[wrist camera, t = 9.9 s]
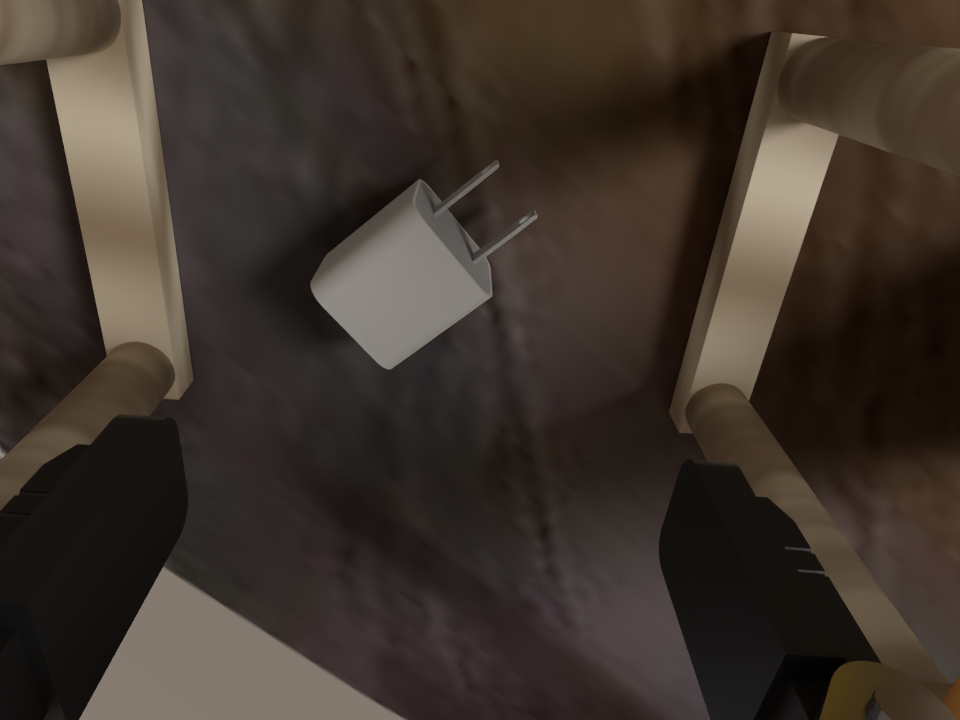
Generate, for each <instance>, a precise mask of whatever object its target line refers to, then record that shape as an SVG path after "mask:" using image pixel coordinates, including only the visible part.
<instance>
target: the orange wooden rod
mask: <svg viewBox="0 0 960 720" xmlns="http://www.w3.org/2000/svg"><path fill="white" fill-rule="evenodd" d="M942 702H943V703H944V704H945V705H946V706H947V708H948V709H949V710H950V711H951V713H952V714H953V715H954V716H955V718H956V720H960V675H959V677H958V678H957V680H956V681H955V683H954V684H953V686H952V687H951V689H950V690H949V692H948V693H947V695H946V696H945V698H944V699H943V701H942Z"/></svg>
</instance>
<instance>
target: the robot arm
mask: <svg viewBox="0 0 960 720" xmlns="http://www.w3.org/2000/svg"><path fill="white" fill-rule="evenodd" d="M187 508H188V492H187V486H186V479H185V472H184V465H183V458H182V452H181V445H180V438H179V431H178V427H177V424H176V422H175V421H174V419H172V418H168V417H155V416H142V415H129V414H119V415H117V416H115V417H114V418H113V419H112V420H111V421H110V422H109V424H108V425H107V426H106V427H105V428H104V429H103V431H102V432H101V433H100V434H99V435H98V436H97V438H96V439H95V440H94V441H93V442H92V443H91V444H90V445H85V444H77V445H75V446H73V447H72V448H70V449H68V450H67V451H65V452H63V453H62V454H60V455H58V456H57V457H55V458H53V459H52V460H50V461H48V462H46V463H45V464H43V465H42V466H41V467H40V468H39V470H38V471H37V472H36V473H35V474H34V475H33V476H32V477H31V478H30V479H29V480H28V481H27V482H26V484H25V485H24V486H23V487H22V488H21V489H20V493H19V495H14V496H13V498H12V499H11V500H10V501H9V502H8V503H7V504H6V505H5V506H4V507H3V508H2V509H1V510H0V720H79V718H80V717H81V715H82V713H83V711H84V709H85V707H86V706H87V704H88V702H89V700H90V698H91V697H92V695H93V693H94V691H95V689H96V688H97V686H98V684H99V682H100V680H101V678H102V677H103V675H104V673H105V671H106V669H107V668H108V665H109V664H110V662H111V660H112V658H113V657H114V655H115V653H116V651H117V649H118V648H119V646H120V644H121V642H122V640H123V638H124V637H125V635H126V633H127V631H128V629H129V628H130V626H131V624H132V622H133V620H134V618H135V617H136V615H137V613H138V611H139V609H140V608H141V606H142V604H143V602H144V600H145V598H146V597H147V595H148V593H149V591H150V589H151V588H152V586H153V584H154V582H155V580H156V578H157V577H158V575H159V573H160V571H161V569H162V568H163V566H164V564H165V562H166V560H167V558H168V557H169V555H170V553H171V551H172V549H173V548H174V546H175V544H176V542H177V540H178V538H179V537H180V534H181V532H182V530H183V527H184V524H185V520H186V515H187ZM659 557H660V565H661V569H662V573H663V576H664V579H665V582H666V585H667V588H668V591H669V594H670V597H671V600H672V603H673V606H674V609H675V612H676V615H677V619H678V622H679V625H680V628H681V631H682V634H683V637H684V640H685V643H686V646H687V649H688V652H689V655H690V658H691V661H692V664H693V667H694V671H695V674H696V677H697V680H698V683H699V686H700V689H701V692H702V695H703V698H704V701H705V704H706V707H707V710H708V713H709V716H710V719H711V720H956V718H955V716H954V715H953V714H952V713H951V711H950V710H949V709H948V708H947V706H946V705H945V704H944V703H943V702H942V701H941V700H940V699H939V698H938V697H937V696H936V695H935V694H934V693H932V692H931V691H930V690H929V689H928V688H927V687H925V686H924V685H922V684H921V683H920V682H918V681H917V680H915V679H914V678H912V677H910V676H909V675H907V674H905V673H903V672H901V671H899V670H897V669H895V668H892V667H889V666H887V665H884V664H882V663H881V661H880V660H879V658H878V657H877V655H876V653H875V652H874V650H873V648H872V647H871V645H870V644H869V642H868V640H867V639H866V637H865V635H864V634H863V632H862V630H861V629H860V627H859V626H858V624H857V622H856V621H855V619H854V617H853V616H852V614H851V612H850V611H849V609H848V608H847V606H846V604H845V603H844V601H843V599H842V598H841V596H840V595H839V593H838V591H837V590H836V588H835V586H834V585H833V583H832V581H831V580H830V578H829V577H828V576H825V574H824V572H825V570H824V568H823V567H822V565H821V563H820V562H819V560H818V559H817V557H816V555H815V554H814V553H811V547H810V546H809V544H808V542H807V541H806V539H805V537H804V536H803V534H802V532H801V531H800V529H799V528H798V526H797V524H796V523H795V521H794V520H793V519H792V518H790V517H789V516H788V515H787V514H786V513H785V512H784V511H783V510H781V509H780V508H779V507H778V506H777V505H776V504H775V503H774V502H772V501H771V500H770V499H769V498H768V497H756V495H755V494H754V492H753V490H752V488H751V487H750V485H749V483H748V481H747V479H746V478H745V476H744V474H743V472H742V471H741V469H740V468H739V466H738V465H737V464H735V463H727V462H715V461H702V460H686V461H685V462H684V463H683V464H682V466H681V469H680V471H679V474H678V478H677V481H676V484H675V487H674V491H673V494H672V497H671V500H670V503H669V507H668V510H667V513H666V516H665V520H664V523H663V526H662V529H661V534H660V541H659Z"/></svg>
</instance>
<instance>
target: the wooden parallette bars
mask: <svg viewBox="0 0 960 720" xmlns="http://www.w3.org/2000/svg"><path fill="white" fill-rule="evenodd" d="M39 60H46V61H47V66H48V71H49V76H50V81H51V86H52V90H53V95H54V100H55V105H56V110H57V115H58V120H59V125H60V130H61V134H62V139H63V144H64V149H65V154H66V159H67V164H68V169H69V174H70V178H71V183H72V188H73V193H74V198H75V203H76V208H77V213H78V217H79V222H80V227H81V232H82V237H83V242H84V247H85V252H86V257H87V261H88V266H89V271H90V276H91V281H92V286H93V291H94V296H95V301H96V305H97V310H98V315H99V320H100V325H101V330H102V335H103V340H104V344H105V349H106V354H107V357H106V358H105V359H104V360H103V361H102V362H101V363H100V364H99V365H98V366H97V367H96V368H95V369H94V370H93V371H92V372H90V373H89V374H88V375H87V376H86V377H85V378H84V379H83V380H82V381H81V382H80V383H79V384H78V385H77V386H76V387H75V388H74V389H73V390H72V391H71V392H70V393H69V394H68V395H67V396H66V397H65V398H64V399H63V400H62V401H61V402H60V403H59V404H58V405H57V406H56V407H55V408H54V409H53V410H52V411H51V412H49V413H48V414H47V415H46V416H45V417H44V418H43V419H42V420H41V421H40V422H39V423H38V424H37V425H36V426H35V427H34V428H33V429H32V430H31V431H30V432H29V433H28V434H27V435H26V436H25V437H24V438H23V439H22V440H21V441H20V442H19V443H18V444H17V445H16V446H15V447H14V448H13V449H12V450H11V451H10V452H8V453H7V454H6V455H5V456H4V457H3V458H2V459H1V460H0V510H1V509H2V508H3V507H4V506H5V505H6V504H7V503H8V502H9V501H10V500H11V499H12V498H13V496H14V495H19V493H20V489H21V488H22V487H23V486H24V485H25V484H26V482H27V481H28V480H29V479H30V478H31V477H32V476H33V475H34V474H35V473H36V472H37V471H38V470H39V468H40V467H41V466H42V465H43V464H45V463H46V462H48V461H50V460H52V459H53V458H55V457H57V456H58V455H60V454H62V453H63V452H65V451H67V450H68V449H70V448H72V447H73V446H75V445H77V444H85V445H90V444H91V443H92V442H93V441H94V440H95V439H96V438H97V436H98V435H99V434H100V433H101V432H102V431H103V429H104V428H105V427H106V426H107V425H108V424H109V422H110V421H111V420H112V419H113V418H114V417H115V416H117V415H119V414H129V415H142V416H150V415H151V414H152V413H153V411H154V410H155V409H156V407H157V406H158V405H159V403H160V402H161V401H162V400H163V399H177V400H179V399H180V398H181V396H182V395H183V394H184V392H185V391H186V390H187V388H188V387H189V385H190V384H191V383H192V381H193V372H192V365H191V358H190V350H189V343H188V336H187V328H186V321H185V314H184V306H183V299H182V292H181V284H180V277H179V269H178V262H177V255H176V247H175V240H174V233H173V225H172V218H171V211H170V203H169V196H168V189H167V181H166V174H165V167H164V159H163V152H162V145H161V137H160V130H159V123H158V115H157V108H156V100H155V93H154V86H153V78H152V71H151V64H150V56H149V49H148V42H147V34H146V27H145V20H144V12H143V5H142V0H0V66H1V65H8V64H16V63H23V62H31V61H39ZM838 135H841V136H844V137H847V138H850V139H853V140H856V141H858V142H861V143H864V144H867V145H870V146H873V147H875V148H878V149H881V150H884V151H887V152H890V153H893V154H895V155H898V156H901V157H904V158H907V159H910V160H912V161H915V162H918V163H921V164H924V165H927V166H930V167H932V168H935V169H938V170H941V171H944V172H947V173H949V174H952V175H955V176H958V177H960V49H954V48H943V47H932V46H921V45H910V44H899V43H888V42H877V41H866V40H855V39H844V38H833V37H823V36H814V35H804V34H794V33H783V32H771V35H770V39H769V43H768V47H767V50H766V54H765V58H764V61H763V65H762V69H761V72H760V76H759V80H758V84H757V87H756V91H755V95H754V98H753V102H752V106H751V110H750V113H749V117H748V121H747V124H746V128H745V132H744V135H743V139H742V143H741V147H740V150H739V154H738V158H737V161H736V165H735V169H734V172H733V176H732V180H731V184H730V187H729V191H728V195H727V198H726V202H725V206H724V210H723V213H722V217H721V221H720V224H719V228H718V232H717V235H716V239H715V243H714V247H713V250H712V254H711V258H710V261H709V265H708V269H707V273H706V276H705V280H704V284H703V287H702V291H701V295H700V298H699V302H698V306H697V310H696V313H695V317H694V321H693V324H692V328H691V332H690V335H689V339H688V343H687V347H686V350H685V354H684V358H683V361H682V365H681V369H680V373H679V376H678V380H677V384H676V387H675V391H674V395H673V398H672V402H671V406H670V410H669V414H670V416H671V418H672V420H673V422H674V424H675V426H676V428H677V430H678V432H679V433H689V434H693V435H694V437H695V438H696V440H697V442H698V444H699V446H700V448H701V450H702V452H703V454H704V456H705V458H706V459H707V461H715V462H727V463H735V464H737V465H738V466H739V468H740V469H741V471H742V472H743V474H744V476H745V478H746V479H747V481H748V483H749V485H750V487H751V488H752V490H753V492H754V494H755V495H756V497H768V498H769V499H770V500H771V501H772V502H774V503H775V504H776V505H777V506H778V507H779V508H780V509H781V510H783V511H784V512H785V513H786V514H787V515H788V516H789V517H790V518H792V519H793V520H794V521H795V523H796V524H797V526H798V528H799V529H800V531H801V532H802V534H803V536H804V537H805V539H806V541H807V542H808V544H809V546H810V547H811V553H814V554H815V555H816V557H817V559H818V560H819V562H820V563H821V565H822V567H823V568H824V570H825V572H824V574H825V576H828V577H829V578H830V580H831V581H832V583H833V585H834V586H835V588H836V590H837V591H838V593H839V595H840V596H841V598H842V599H843V601H844V603H845V604H846V606H847V608H848V609H849V611H850V612H851V614H852V616H853V617H854V619H855V621H856V622H857V624H858V626H859V627H860V629H861V630H862V632H863V634H864V635H865V637H866V639H867V640H868V642H869V644H870V645H871V647H872V648H873V650H874V652H875V653H876V655H877V657H878V658H879V660H880V661H881V663H882V664H884V665H887V666H889V667H892V668H895V669H897V670H899V671H901V672H903V673H905V674H907V675H909V676H910V677H912V678H914V679H915V680H917V681H918V682H920V683H921V684H922V685H924V686H925V687H927V688H928V689H929V690H930V691H931V692H932V693H934V694H935V695H936V696H937V697H938V698H939V699H940V700H941V701H943V699H944V698H945V696H946V695H947V693H948V692H949V690H950V689H951V687H952V686H953V684H949V683H948V682H947V681H946V679H945V678H944V676H943V675H942V674H941V672H940V671H939V669H938V668H937V667H936V665H935V664H934V662H933V661H932V659H931V658H930V657H929V655H928V654H927V652H926V651H925V650H924V648H923V647H922V645H921V644H920V642H919V641H918V640H917V638H916V637H915V635H914V634H913V633H912V631H911V630H910V628H909V627H908V626H907V624H906V623H905V621H904V620H903V618H902V617H901V616H900V614H899V613H898V611H897V610H896V609H895V607H894V606H893V604H892V603H891V601H890V600H889V599H888V597H887V596H886V594H885V593H884V592H883V590H882V589H881V587H880V586H879V585H878V583H877V582H876V580H875V579H874V577H873V576H872V575H871V573H870V572H869V570H868V569H867V568H866V566H865V565H864V563H863V562H862V560H861V559H860V558H859V556H858V555H857V553H856V552H855V551H854V549H853V548H852V546H851V545H850V544H849V542H848V541H847V539H846V538H845V536H844V535H843V534H842V532H841V531H840V529H839V528H838V527H837V525H836V524H835V522H834V521H833V519H832V518H831V517H830V515H829V514H828V512H827V511H826V510H825V508H824V507H823V505H822V504H821V503H820V501H819V500H818V498H817V497H816V495H815V494H814V493H813V491H812V490H811V488H810V487H809V486H808V484H807V483H806V481H805V480H804V478H803V477H802V476H801V474H800V473H799V471H798V470H797V469H796V467H795V466H794V464H793V463H792V462H791V460H790V459H789V457H788V456H787V454H786V453H785V452H784V450H783V449H782V447H781V446H780V445H779V443H778V442H777V440H776V439H775V438H774V436H773V435H772V433H771V432H770V430H769V429H768V428H767V426H766V425H765V423H764V422H763V421H762V419H761V418H760V416H759V415H758V413H757V412H756V411H755V409H754V408H753V406H752V405H751V404H750V402H749V400H750V397H751V394H752V391H753V388H754V385H755V382H756V379H757V376H758V373H759V370H760V367H761V364H762V361H763V358H764V355H765V352H766V349H767V346H768V343H769V340H770V337H771V334H772V331H773V328H774V325H775V322H776V319H777V316H778V313H779V310H780V308H781V305H782V302H783V299H784V296H785V293H786V290H787V287H788V284H789V281H790V278H791V275H792V272H793V269H794V266H795V263H796V260H797V257H798V254H799V251H800V248H801V245H802V242H803V239H804V236H805V233H806V230H807V227H808V224H809V221H810V218H811V215H812V212H813V209H814V206H815V203H816V200H817V197H818V194H819V191H820V188H821V185H822V182H823V180H824V177H825V174H826V171H827V168H828V165H829V162H830V159H831V156H832V153H833V150H834V147H835V144H836V141H837V138H838Z"/></svg>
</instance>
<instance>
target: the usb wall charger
mask: <svg viewBox="0 0 960 720" xmlns="http://www.w3.org/2000/svg"><path fill="white" fill-rule="evenodd" d="M498 168H499V161H498V160H495V161H494V162H492V163H491V164H490V165H488V166H487V167H486V168H484V169H483V170H482V171H481V172H479V173H478V174H477V175H475V176H474V177H473V178H471V179H470V180H469V181H468V182H466V183H465V184H464V185H463V186H461V187H460V188H459V189H458V190H456V191H455V192H454V193H453V194H451V195H450V196H449V197H448V198H446V199H445V200H444V201H442V202H441V200H440V199H439V198H438V197H437V196H436V194H435V193H434V192H433V191H432V189H431V188H430V187H429V186H428V185H427V184H426V183H425V182H424V181H423V180H421V179H419V180H417V181H416V182H415V183H414V184H412V185H411V186H410V187H409V188H408V189H406V190H405V191H404V192H403V193H401V194H400V195H399V196H398V197H396V198H395V199H394V200H393V201H392V202H390V203H389V204H388V205H387V206H385V207H384V208H383V209H382V210H381V211H379V212H378V213H377V214H376V215H374V216H373V217H372V218H371V219H369V220H368V221H367V222H366V223H365V224H363V225H362V226H361V227H360V228H358V229H357V230H356V231H355V232H354V233H352V234H351V235H350V236H349V237H347V238H346V239H345V240H344V241H343V242H341V243H340V244H339V245H338V246H336V247H335V248H334V249H333V250H331V251H330V252H329V253H328V254H327V255H326V256H325V258H324V260H323V261H322V263H321V265H320V266H319V268H318V270H317V272H316V273H315V275H314V277H313V279H312V280H311V283H310V286H311V290H312V292H313V294H314V296H315V298H316V299H317V301H318V302H319V303H320V305H321V306H322V307H323V308H324V309H325V310H326V311H327V312H328V313H329V314H330V315H331V316H332V317H333V318H334V319H335V320H336V321H337V322H338V323H339V324H340V325H341V326H342V327H343V328H344V329H345V330H346V331H347V332H348V333H349V334H350V335H351V336H352V338H353V339H354V340H355V341H356V342H357V343H358V344H359V345H360V346H361V347H362V348H363V349H364V350H365V351H366V352H367V353H368V354H369V355H370V356H371V357H372V358H373V359H374V360H375V361H376V362H377V363H378V364H379V365H380V366H382V367H383V368H385V369H392V368H393V367H395V366H396V365H398V364H399V363H400V362H402V361H403V360H405V359H406V358H407V357H409V356H410V355H412V354H413V353H414V352H416V351H417V350H418V349H420V348H421V347H423V346H424V345H425V344H427V343H428V342H430V341H431V340H432V339H434V338H435V337H437V336H438V335H439V334H441V333H442V332H443V331H445V330H446V329H448V328H449V327H450V326H452V325H453V324H455V323H456V322H457V321H459V320H460V319H462V318H463V317H464V316H466V315H467V314H468V313H470V312H471V311H473V310H474V309H475V308H477V307H478V306H480V305H481V304H482V303H484V302H485V301H487V300H488V299H489V298H491V297H492V282H491V269H490V265H489V262H488V260H487V259H486V256H488V255H489V254H490V253H492V252H493V251H494V250H496V249H497V248H498V247H500V246H501V245H502V244H504V243H505V242H507V241H508V240H509V239H511V238H512V237H513V236H515V235H516V234H517V233H518V232H520V231H521V230H522V229H524V228H525V227H526V226H527V225H529V224H530V223H531V222H533V221H534V220H535V219H536V218H537V214H536V211H535V210H532V211H530V212H529V213H527V214H526V215H525V216H523V217H522V218H520V219H519V220H518V221H516V222H515V223H514V224H512V225H511V226H509V227H508V228H507V229H505V230H504V231H503V232H501V233H500V234H499V235H497V236H496V237H495V238H493V239H492V240H491V241H489V242H488V243H487V244H485V245H484V246H483V247H481V248H479V247H478V246H477V245H476V244H475V242H474V241H473V240H472V239H471V237H470V236H469V235H468V234H467V232H466V231H465V230H464V229H463V228H462V226H461V225H460V224H459V223H458V221H457V220H456V219H455V218H454V216H453V215H452V214H451V213H450V212H449V210H448V208H449V207H450V206H451V205H453V204H454V203H455V202H457V201H458V200H459V199H460V198H462V197H463V196H464V195H465V194H467V193H468V192H469V191H471V190H472V189H473V188H474V187H476V186H477V185H478V184H479V183H481V182H482V181H483V180H484V179H486V178H487V177H488V176H489V175H490V174H492V173H493V172H494V171H495V170H497V169H498Z"/></svg>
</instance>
